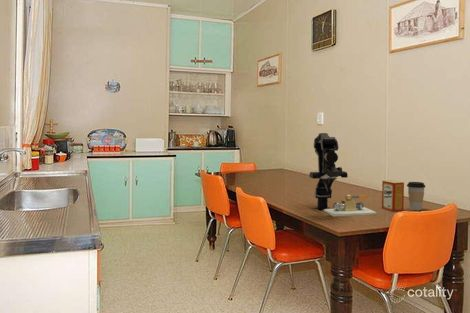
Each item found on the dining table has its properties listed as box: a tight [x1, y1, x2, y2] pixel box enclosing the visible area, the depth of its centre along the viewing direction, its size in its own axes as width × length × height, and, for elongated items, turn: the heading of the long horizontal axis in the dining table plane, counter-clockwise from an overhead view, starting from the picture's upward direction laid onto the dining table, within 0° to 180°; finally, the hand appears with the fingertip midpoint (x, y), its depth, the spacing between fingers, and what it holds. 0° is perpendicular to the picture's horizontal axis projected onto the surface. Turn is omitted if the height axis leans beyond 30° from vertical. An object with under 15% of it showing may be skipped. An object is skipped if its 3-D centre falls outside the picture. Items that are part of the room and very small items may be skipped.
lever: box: [344, 193, 368, 200], centre depth 219 cm, size 12×3×2 cm, turn 92°
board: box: [323, 206, 377, 218], centre depth 218 cm, size 13×24×1 cm, turn 99°
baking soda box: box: [381, 179, 405, 212], centre depth 225 cm, size 10×6×16 cm
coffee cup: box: [406, 181, 426, 212], centre depth 224 cm, size 9×9×15 cm
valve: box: [332, 198, 365, 211], centre depth 219 cm, size 16×5×6 cm, turn 99°
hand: (328, 191), depth 211 cm, fingers closed
